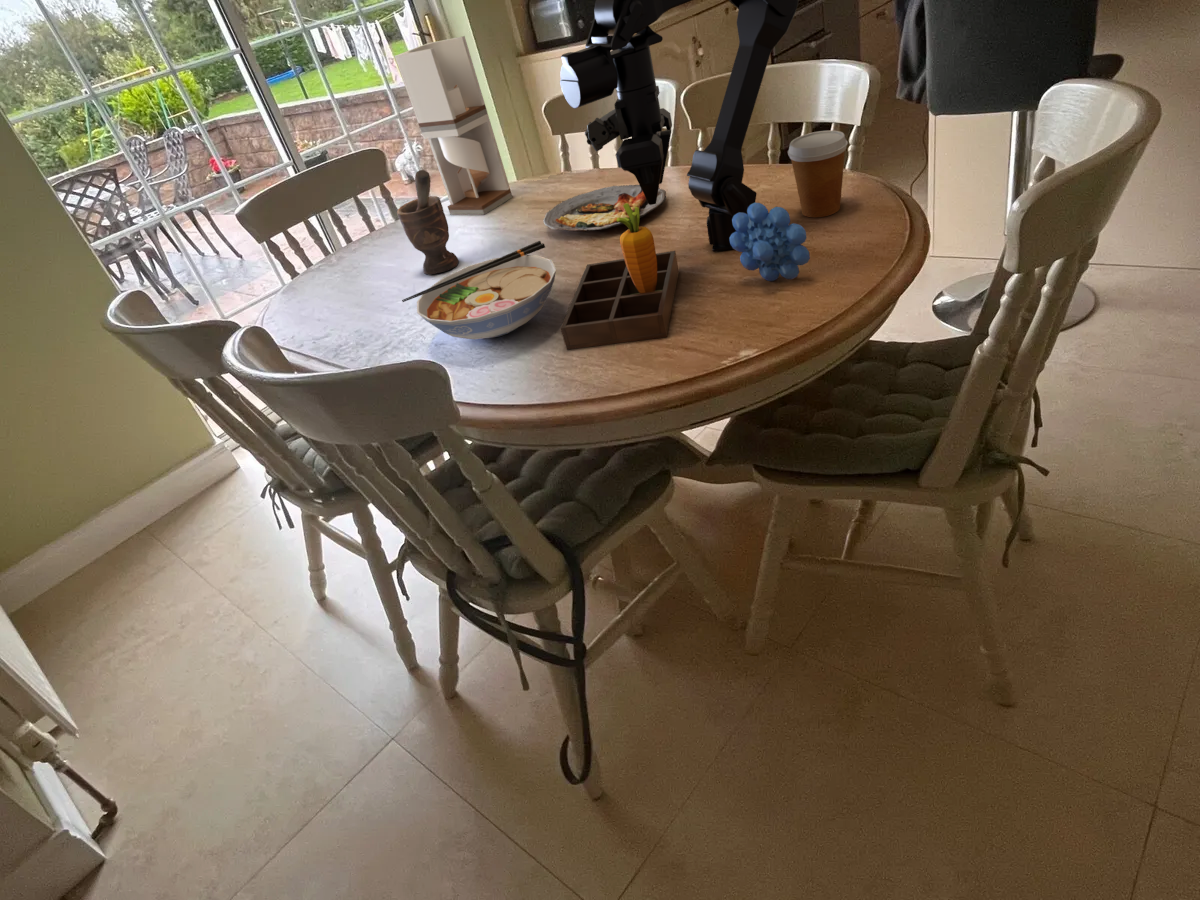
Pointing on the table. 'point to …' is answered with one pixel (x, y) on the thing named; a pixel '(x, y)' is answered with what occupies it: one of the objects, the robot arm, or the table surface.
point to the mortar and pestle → (427, 227)
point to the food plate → (600, 208)
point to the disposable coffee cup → (819, 171)
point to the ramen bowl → (489, 295)
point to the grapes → (769, 242)
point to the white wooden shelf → (455, 124)
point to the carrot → (639, 252)
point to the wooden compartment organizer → (619, 305)
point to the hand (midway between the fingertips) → (655, 193)
